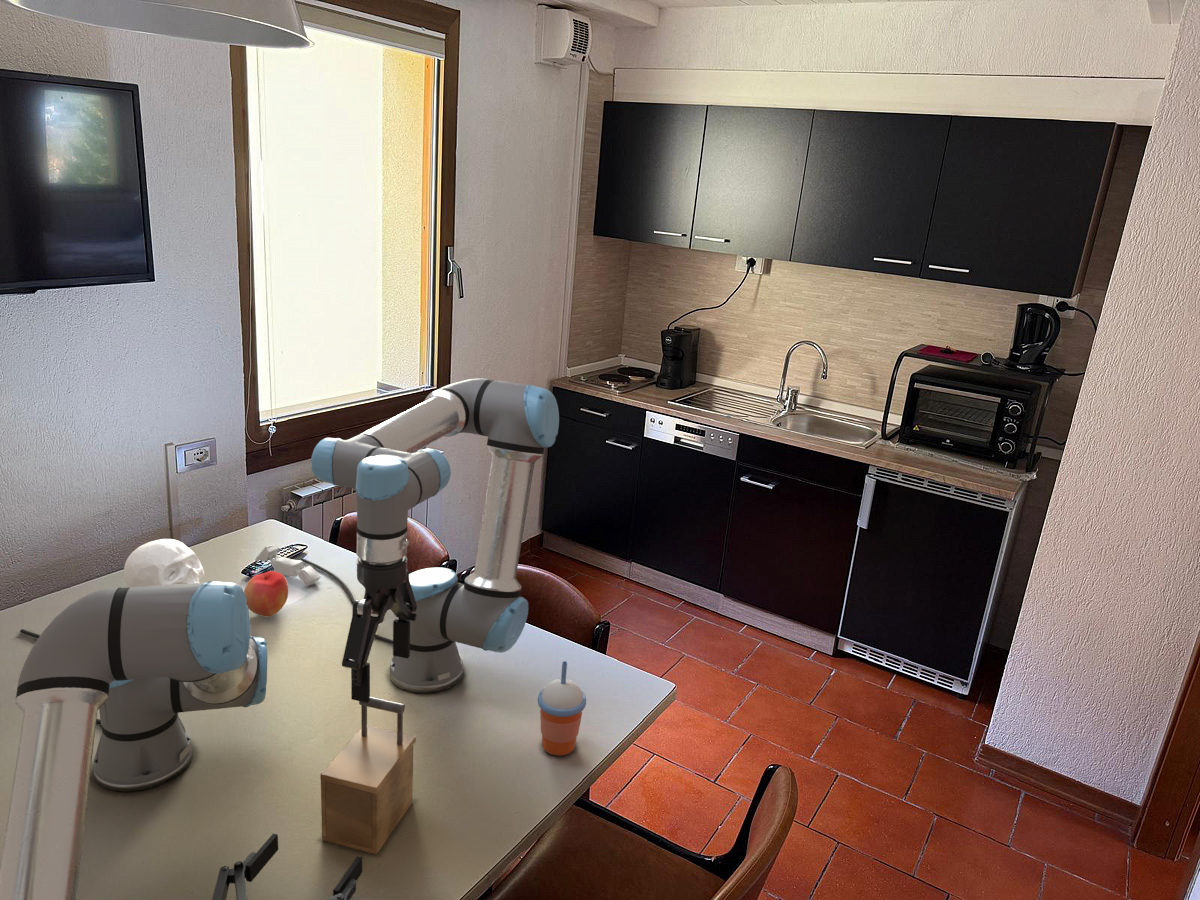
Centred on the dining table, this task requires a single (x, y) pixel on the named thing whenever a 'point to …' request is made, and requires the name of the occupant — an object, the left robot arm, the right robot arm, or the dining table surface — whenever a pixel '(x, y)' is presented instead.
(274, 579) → the apple
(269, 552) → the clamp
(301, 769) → the dining table surface
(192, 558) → the skull
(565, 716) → the cup with straw
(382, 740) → the lid
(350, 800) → the chest
